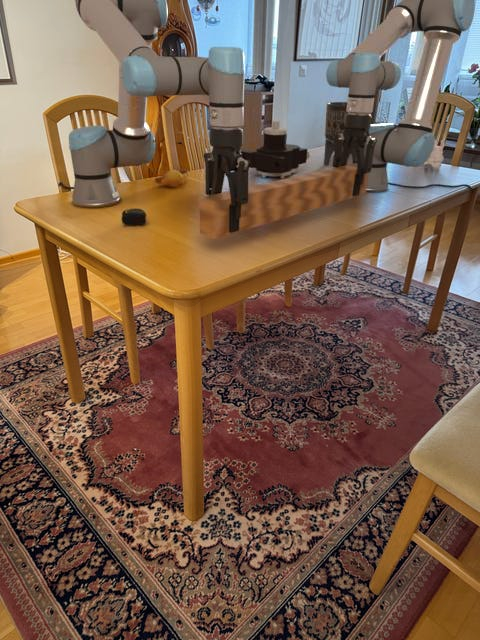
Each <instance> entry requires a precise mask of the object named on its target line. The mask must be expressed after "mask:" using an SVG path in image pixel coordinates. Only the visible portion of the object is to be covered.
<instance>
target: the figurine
mask: <svg viewBox="0 0 480 640" xmlns="http://www.w3.org/2000/svg"><path fill="white" fill-rule="evenodd" d="M434 142H435V144H434V148H433V150H432V152H431V155H430V156H429V158H428V159H427V161H426V162H425V163H424V164H423V165H422V167H423V168H424V169H433V170H437V171H439V168H440V167H441V165H442V162H443V161H444V155H443V154H444V151H443V149H444V147H445V145H446V143H445V142H444V141H443V140H442V139H440V145H437V144H438V142H437V139H435V141H434Z"/></svg>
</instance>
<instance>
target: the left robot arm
mask: <svg viewBox="0 0 480 640" xmlns="http://www.w3.org/2000/svg"><path fill="white" fill-rule="evenodd" d="M74 1H75V8H76V11H77V13H78V15H79V16H78V17H80V19H81V20H82V22H83V23H84V25H85V26H86V27H87V28H88V29H90V30H92V31H93V32H95V33H97V35H98V36H99V38H100V39H101V40H102V41H103V43H104V44H105V45H106V47H107V48H108V49H109V50H110V52H111V53H112V55H113V56H114V57H115V58H116V60H117V61H118V62H119V64H118V66H119V67H118V68H119V69H118V100H117V118H115V119H114V120H113V122H112V129H108V130H107V129H106V127H105V126H104V125H89V126H82V127H79V128H75V129H73V130H72V131H70V132H69V134H68V146H69V147H68V149H69V151H70V157H71V163H72V169H73V175H74V184H73V186H66V184H64V183H63V182H62V181H59V182H58V186H61V187H63V189H66V190H72V195H71V196H72V197H71V200H72V204H73V205H74V206H76V207H79V208H85V209H98V208H106V207H111V206H114V205H116V204H119V203H120V201H121V198H120V194H119V191H118V189H117V187H116V185H115V182H114V180H113V177H112V169H117V168H118V169H119V168H126V167H141V166H143V165H147V164H150V163H151V162H152V160H153V159H154V157H155V152H156V142H155V141H156V138H155V135H154V133H153V131H152V129H150V128H151V127H150V125H149V124H148V123H147V122H146V120H147V107H148V98H150V97H165V96H166V97H167V96H208V99H209V102H208V103H209V106H208V107H209V126H210V127H211V128H210V129H209V145H210V146H211V147H212V150H211V152H204V153H203V159H204V163H205V165H204V167H205V172H204V173H205V174H204V175H205V177H204V178H205V181H204V183H205V196H210V195H214V194H219V193H223V186H224V182H225V177H227V178H226V179H227V183H228V189H229V191H230V196H231V202H232V204H230V205H229V232H231V233H232V232H235V231H238V232H240V231H239V219H240V218H241V205H242V204H246V203H248V187H249V172H250V171H249V170H250V160H244V159H243V158H242V157H241V153H240V151H241V148H242V146H243V145H244V129H243V128H241V127H243V126H244V112H245V111H244V110H245V109H244V101H245V78H246V77H245V74H246V73H245V72H246V67H245V52H244V49H242V48H241V47H239V46H238V47H237V46H236V47H235V46H211V47H210V48H209V50H208V57H206V56H205V57H204V56H160V55H158V54H157V53H156V52H155V51H154V49H153V48H152V43H153V42H155V41H156V40H157V39H158V30H161V29H162V28H165V27H166V24H167V22H168V16H169V15H168V14H169V13H168V12H169V11H168V1H167V0H74ZM236 199H237V200H236ZM235 233H236V232H235ZM232 234H233V233H232Z"/></svg>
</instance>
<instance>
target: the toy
mask: <svg viewBox="0 0 480 640" xmlns="http://www.w3.org/2000/svg"><path fill="white" fill-rule="evenodd" d="M188 177H189V172H188V170H187V169H182V170H176V169H170V170H167V171H166V172H164V174H163V175H161V176H160V177H156V178H154V182H155V183H157V184H161V185H163V186H167V187H169V188H179V187H182V186H184V185H186V183H187V178H188Z"/></svg>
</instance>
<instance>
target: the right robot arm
mask: <svg viewBox="0 0 480 640" xmlns="http://www.w3.org/2000/svg"><path fill="white" fill-rule="evenodd" d="M475 10H476V1H475V0H401V1H400V2H398V3H397V4H396V5H395V6H394V7H393V8H392V9H390V11H388V13H387V15H386V18H385V20H383V22H381V23H380V24H379V25H378V26H377V27H376V28H375V29H374V30H373V31H372V32H371V33H370V34H368V35H367V36H366V38H364V39H363V40H362V41H361V42H360V44H358V45H357V46H356V47H355V48H354V49H353V50H352V51H351V52H349V54H348V55H347V56H345V58H343V59H335V60H332V61H331V62H330V63H329V64H328V66H327V69H326V73H325V75H326V82H327V84H328V85H329V86H330V87H335V88H339V89H341V88H342V89H343V88H344V89H348V95H347V101H346V102H347V109H346V111H347V112H348V114H346V116H345V124H344V126H345V130H344V132H343V133H340V134H336V135H335V141H336V144H335V151H334V152H333V160H332V168H337V167H341V166H345V165H346V163H347V164H348V160H349V157H350V155H351V154H350V152H351V149H352V148H353V147H354V148H355V151H356V155H357V158H356V163H357V168H358V173H357V174H355V180H354V187H353V194H352V196H355V197H357V196H356V195H359V192H360V186H361V185H362V184H363V181H364V175H365V174H366V173H369V174H368V180H367V187H366V193H382V192H386V191H388V189H389V186H393V187H400V188H405V189H427V188H430V187H440V188H441V187H443V188H451V189H454V188H462V187H466V188H468V189H469V190H472V189H473V188H472V186H471V185H469V184H465V183H462V184H457V185H449V184H441V183H431V184H427V185H421V186H418V185H416V186H415V185H404V184H399V183H394V182H389V178H388V173H387V172H388V171H387V166H388V164H393V165H398V166H403V167H407V168H410V167H411V168H419V167H421V166H423V164H424V163H425V162H426V161H427V159H428V158H429V156H430V155H431V152H433V150H434V144H435V142H434V141H435V140H436V136H435V134H434V133H432V131H433V127H432V125H431V119H432V115H433V112H434V109H435V107H436V106H435V105H436V102H437V99H438V96H439V92H440V89H441V85H442V83H443V78H444V75H445V72H446V68H447V65H448V62H449V58H450V56H451V52H452V49H453V46H454V44H455V43H457V42H458V41H459V40H460V38H461V35H462V32H466V31H468V30H469V29H470V28H471V25H472V23H473V20H474V18H475V17H474V16H475ZM416 32H422V36H423V38H424V40H425V43H424V47H423V50H422V54H421V57H420V61H419V63H418V68H417V73H416V75H415V79H414V82H413V87H412V90H411V92H410V97H409V100H408V103H407V108H406V112H405V115H404V118H403V119H401V120H400V121H399V122H398V123H397V127H396V128H395V124H394V123H373V124H371V123H372V113H373V110H374V103H375V97H376V92H377V91H388V90H391V89H394V88H395V87H396V86H397V85H398V84H399V82H400V80H401V77H402V69H401V67H400V65H399V64H398V63H397V62H395V61H391V60H381V57H382V56H383V55H385V53H387V51H389V50H390V49H391V48H392V47H393V46H394V45H395V44H396V43H397V42H398V41H399V40H400V39H403V38H406V37H407V36H408V35H409V34H412V33H416ZM370 113H371V115H370ZM344 139H345V144H344V147H343V140H344ZM342 148H344V150H343V152H342ZM359 196H360V195H359Z"/></svg>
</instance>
